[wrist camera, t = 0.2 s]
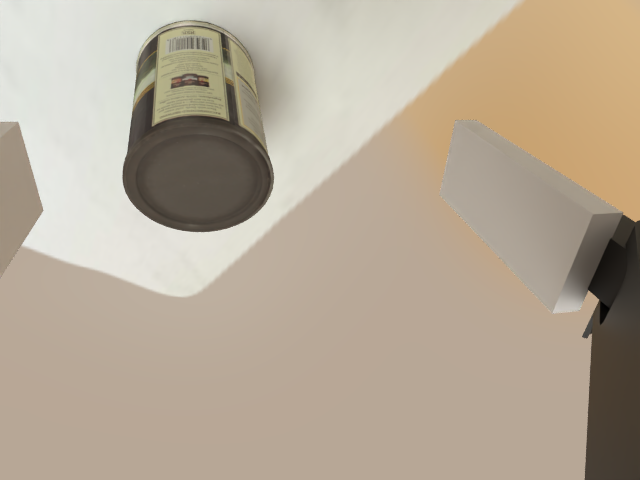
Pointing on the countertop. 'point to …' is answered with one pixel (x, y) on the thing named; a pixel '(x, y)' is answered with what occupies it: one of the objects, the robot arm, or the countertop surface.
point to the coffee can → (196, 131)
